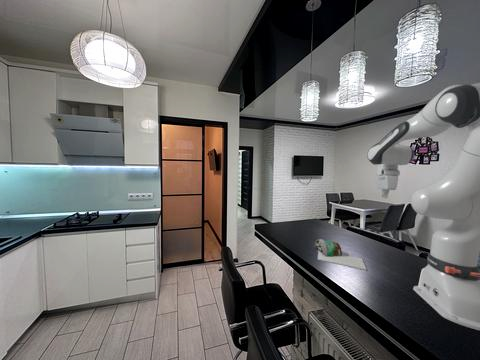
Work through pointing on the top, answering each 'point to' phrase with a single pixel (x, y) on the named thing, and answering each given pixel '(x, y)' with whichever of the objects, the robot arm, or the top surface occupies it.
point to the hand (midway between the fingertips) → (384, 197)
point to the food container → (328, 247)
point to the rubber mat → (343, 260)
